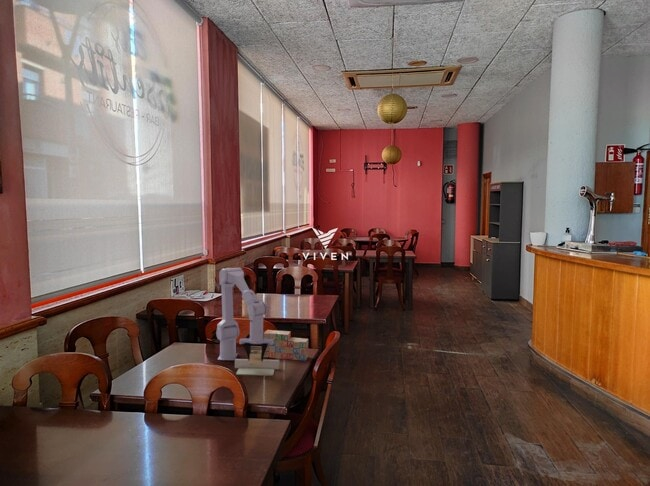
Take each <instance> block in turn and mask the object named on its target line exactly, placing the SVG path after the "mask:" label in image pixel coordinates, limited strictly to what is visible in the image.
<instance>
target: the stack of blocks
mask: <svg viewBox="0 0 650 486" xmlns="http://www.w3.org/2000/svg"><path fill="white" fill-rule="evenodd" d="M291 332H292V331H291V330H290V331H288V330H276V329H275V330H272V329H266V330H265V331H263V338H265V339H273V345H270V344H268V346H267V349H266V351H265V354H264V358H268V357H269V358H270V359H277V360H292V361H303V362H304V361H305V362H306V360H307V359H308V358H309V338H304V337H303V338H302V337H292V336H291V335H292V333H291Z"/></svg>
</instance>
